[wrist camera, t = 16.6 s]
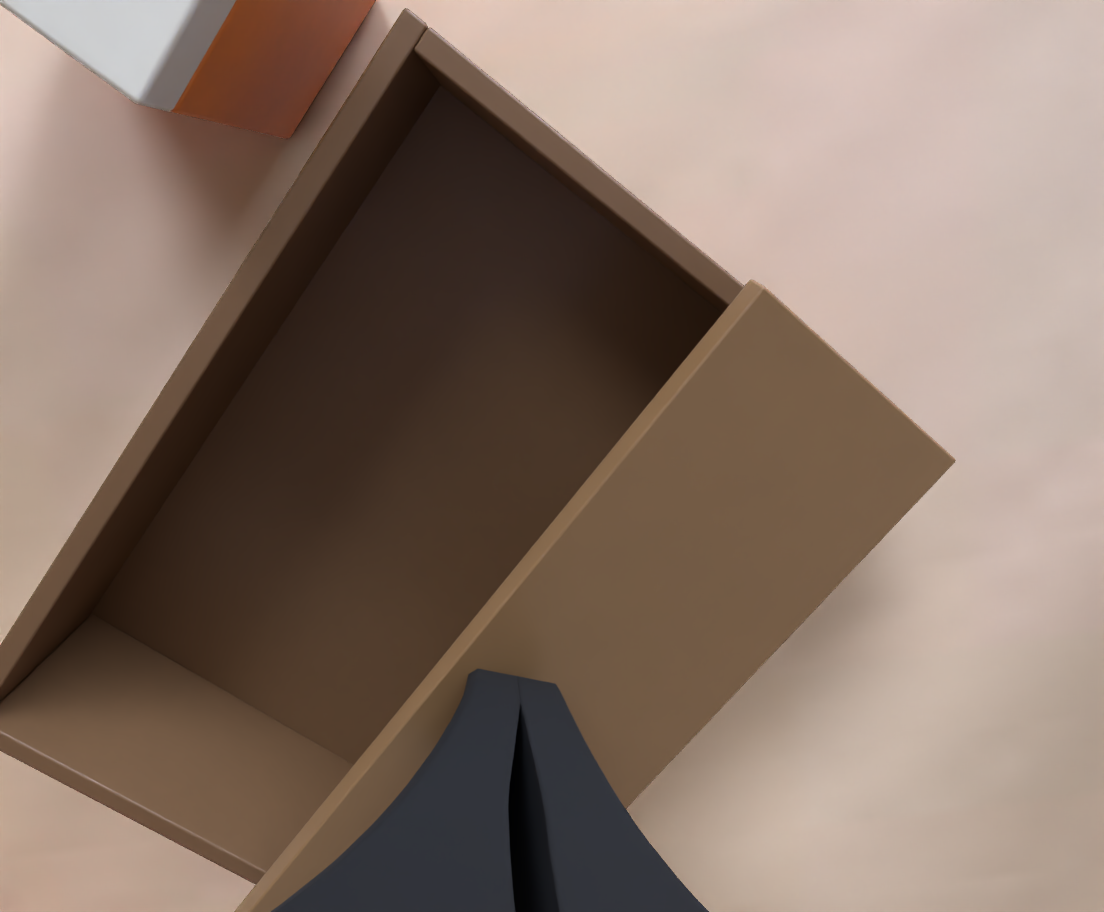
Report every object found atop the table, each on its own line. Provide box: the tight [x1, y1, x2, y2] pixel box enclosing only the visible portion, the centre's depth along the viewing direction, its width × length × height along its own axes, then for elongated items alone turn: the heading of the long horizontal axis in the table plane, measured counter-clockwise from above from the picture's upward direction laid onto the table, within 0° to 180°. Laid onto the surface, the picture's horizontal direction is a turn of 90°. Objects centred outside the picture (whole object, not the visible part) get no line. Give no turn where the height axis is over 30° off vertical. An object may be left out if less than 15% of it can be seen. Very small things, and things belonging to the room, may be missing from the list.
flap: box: [234, 280, 955, 912], centre depth 13 cm, size 15×5×1 cm, turn 143°
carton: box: [0, 8, 745, 884], centre depth 16 cm, size 15×11×4 cm
